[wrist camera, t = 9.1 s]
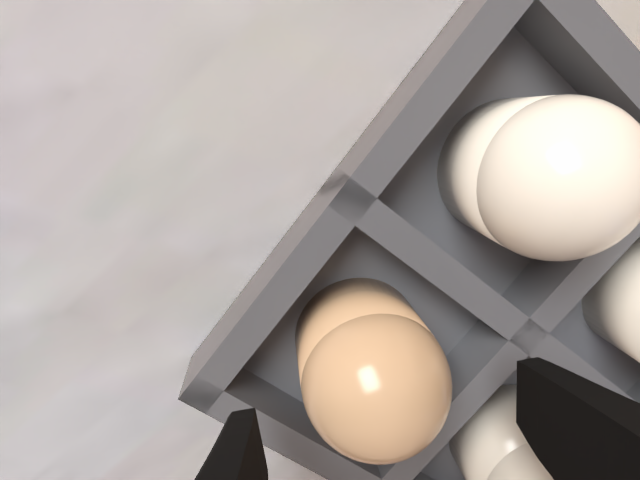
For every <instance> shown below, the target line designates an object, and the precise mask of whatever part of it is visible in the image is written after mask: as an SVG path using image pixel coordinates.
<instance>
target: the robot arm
mask: <svg viewBox="0 0 640 480" xmlns="http://www.w3.org/2000/svg"><path fill="white" fill-rule="evenodd" d="M516 423H517V425H518V427H519V428H520V430H521V432H522V434H523V435H524V437H525V439H526V440H527V442H528V444H529V445H530V447H531V449H532V450H533V452H534V453H535V455H536V457H537V458H538V459H539V461H540V462H541V463H542V465H543V466H544V467H545V469H546V470H547V471H548V473H549V474H550V475H551V477H552V478H553V479H554V480H640V403H638V402H636V401H634V400H632V399H629V398H627V397H625V396H623V395H620V394H618V393H616V392H614V391H612V390H609V389H607V388H605V387H603V386H601V385H599V384H597V383H594V382H592V381H590V380H588V379H586V378H584V377H582V376H580V375H577V374H575V373H573V372H571V371H569V370H567V369H565V368H562V367H560V366H558V365H556V364H554V363H551V362H549V361H547V360H544V359H542V358H539V357H535V358H530V359H524V360H519V361H517V392H516ZM195 480H268V469H267V464H266V459H265V454H264V449H263V444H262V439H261V434H260V429H259V424H258V419H257V414H256V409H255V408H249V409H244V410H238V411H233V412H231V414H230V415H229V416H228V418H227V420H226V422H225V425H224V427H223V429H222V431H221V433H220V435H219V437H218V439H217V441H216V442H215V444H214V446H213V448H212V450H211V452H210V454H209V455H208V457H207V459H206V461H205V462H204V464H203V466H202V468H201V469H200V471H199V473H198V475H197V476H196V478H195Z"/></svg>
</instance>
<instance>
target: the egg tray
mask: <svg viewBox="0 0 640 480" xmlns="http://www.w3.org/2000/svg"><path fill="white" fill-rule="evenodd" d="M564 94H574V95H586V96H590V97H594V98H598V99H602V100H605V101H607V102H610V103H612V104H614V105H616V106H618V107H620V108H621V109H623V110H624V111H626V112H627V113H628V114H630V115H631V116H632V117H633V118H634V119H635V120H636V121H637V122H638V123H639V124H640V51H639V50H638V49H637V48H636V46H635V45H634V44H633V43H632V42H631V41H630V40H629V38H628V37H627V36H626V35H625V34H624V33H623V32H622V30H621V29H620V28H619V27H618V26H617V25H616V23H615V22H614V21H613V20H612V19H611V18H610V17H609V15H608V14H607V13H606V12H605V11H604V10H603V9H602V7H601V6H600V5H599V4H598V3H597V2H596V1H595V0H465V1H464V2H463V3H462V4H461V6H460V7H459V8H458V10H457V11H456V12H455V14H454V15H453V16H452V18H451V19H450V20H449V21H448V23H447V24H446V25H445V27H444V28H443V29H442V31H441V32H440V33H439V35H438V36H437V37H436V38H435V40H434V41H433V42H432V44H431V45H430V46H429V48H428V49H427V50H426V51H425V53H424V54H423V55H422V57H421V58H420V59H419V61H418V62H417V63H416V65H415V66H414V67H413V68H412V70H411V71H410V72H409V74H408V75H407V76H406V78H405V79H404V80H403V82H402V83H401V84H400V85H399V87H398V88H397V89H396V91H395V92H394V93H393V95H392V96H391V97H390V99H389V100H388V101H387V102H386V104H385V105H384V106H383V108H382V109H381V110H380V112H379V113H378V114H377V115H376V117H375V118H374V119H373V121H372V122H371V123H370V125H369V126H368V127H367V129H366V130H365V131H364V132H363V134H362V135H361V136H360V138H359V139H358V140H357V142H356V143H355V144H354V146H353V147H352V148H351V149H350V151H349V152H348V153H347V155H346V156H345V157H344V159H343V160H342V161H341V163H340V164H339V165H338V166H337V168H336V169H335V170H334V172H333V173H332V174H331V176H330V177H329V178H328V179H327V181H326V182H325V183H324V185H323V186H322V187H321V189H320V190H319V191H318V193H317V194H316V195H315V196H314V198H313V199H312V200H311V202H310V203H309V204H308V206H307V207H306V208H305V210H304V211H303V212H302V213H301V215H300V216H299V217H298V219H297V220H296V221H295V223H294V224H293V225H292V227H291V228H290V229H289V230H288V232H287V233H286V234H285V236H284V237H283V238H282V240H281V241H280V242H279V243H278V245H277V246H276V247H275V249H274V250H273V251H272V253H271V254H270V255H269V257H268V258H267V259H266V260H265V262H264V263H263V264H262V266H261V267H260V268H259V270H258V271H257V272H256V274H255V275H254V276H253V277H252V279H251V280H250V281H249V283H248V284H247V285H246V287H245V288H244V289H243V291H242V292H241V293H240V294H239V296H238V297H237V298H236V300H235V301H234V302H233V304H232V305H231V306H230V308H229V309H228V310H227V311H226V313H225V314H224V315H223V317H222V318H221V319H220V321H219V322H218V323H217V324H216V326H215V327H214V328H213V330H212V331H211V332H210V334H209V335H208V336H207V338H206V339H205V340H204V341H203V343H202V344H201V345H200V347H199V348H198V349H197V351H196V352H195V353H194V355H193V356H192V357H191V360H190V363H189V366H188V370H187V373H186V376H185V379H184V382H183V385H182V388H181V391H180V395H179V398H178V399H179V400H181V401H182V402H184V403H186V404H188V405H190V406H192V407H194V408H196V409H197V410H199V411H201V412H203V413H205V414H207V415H209V416H210V417H212V418H214V419H216V420H218V421H220V422H222V423H224V424H225V422H226V420H227V418H228V416H229V415H230V414H231V412H233V411H238V410H244V409H249V408H255V409H256V414H257V419H258V424H259V429H260V434H261V439H262V444H263V445H265V446H266V447H268V448H270V449H272V450H274V451H276V452H278V453H280V454H281V455H283V456H285V457H287V458H289V459H291V460H293V461H294V462H296V463H298V464H300V465H302V466H304V467H306V468H308V469H309V470H311V471H313V472H315V473H317V474H319V475H321V476H322V477H324V478H326V479H328V480H465V478H464V476H463V475H462V473H461V471H460V469H459V467H458V465H457V463H456V462H455V460H454V458H453V456H452V454H451V451H450V448H449V440H450V439H451V438H452V437H453V436H454V435H455V434H456V433H457V432H458V431H459V430H460V429H461V428H462V427H463V425H464V424H465V423H466V422H467V421H468V420H469V419H470V418H471V417H472V416H473V415H474V414H475V413H476V412H477V410H478V409H479V408H480V407H481V406H482V405H483V404H484V403H485V402H486V401H487V400H488V399H489V398H490V396H491V395H492V394H493V393H494V392H495V391H496V390H497V389H498V388H499V387H500V386H501V385H517V361H519V360H524V359H530V358H535V357H539V358H542V359H544V360H547V361H549V362H551V363H554V364H556V365H558V366H560V367H562V368H565V369H567V370H569V371H571V372H573V373H575V374H577V375H580V376H582V377H584V378H586V379H588V380H590V381H592V382H594V383H597V384H599V385H601V386H603V387H605V388H607V389H609V390H612V391H614V392H616V393H618V394H620V395H623V396H625V397H627V398H629V399H632V400H634V401H636V402H638V403H640V363H639V362H638V361H636V360H635V359H633V358H632V357H630V356H629V355H627V354H626V353H624V352H623V351H621V350H620V349H618V348H617V347H615V346H614V345H612V344H611V343H609V342H608V341H606V340H605V339H603V338H602V337H600V336H599V335H597V334H596V333H595V332H594V331H593V330H592V329H591V328H590V327H589V326H588V324H587V322H586V320H585V318H584V315H583V312H582V298H583V297H584V296H585V295H586V294H587V292H588V291H589V290H590V289H591V288H592V287H593V286H594V285H595V284H596V283H597V282H598V281H599V280H600V279H601V277H602V276H603V275H604V274H605V273H606V272H607V271H608V270H609V269H610V268H611V267H612V266H613V265H614V264H615V262H616V261H617V260H618V259H619V258H620V257H621V256H622V255H623V254H624V253H625V252H626V251H627V250H628V249H629V247H630V246H631V245H632V244H633V243H634V242H635V241H636V240H637V239H638V238H639V237H640V223H639V224H638V225H637V226H636V227H635V228H634V229H633V230H632V231H631V232H630V233H629V234H628V235H627V236H626V237H625V238H623V239H622V240H621V241H620V242H618V243H617V244H615V245H613V246H612V247H610V248H608V249H606V250H604V251H602V252H600V253H597V254H595V255H592V256H589V257H586V258H581V259H577V260H571V261H543V260H537V259H532V258H528V257H525V256H522V255H519V254H517V253H515V252H513V251H511V250H509V249H507V248H505V247H503V246H501V245H500V244H498V243H496V242H494V241H493V240H491V239H489V238H487V237H485V236H484V235H482V234H480V233H478V232H477V231H475V230H473V229H471V228H469V227H468V226H466V225H464V224H463V223H461V222H460V221H458V220H457V219H456V218H455V217H454V216H453V215H452V214H451V213H450V212H449V210H448V209H447V208H446V206H445V204H444V202H443V200H442V198H441V195H440V192H439V188H438V182H437V166H438V159H439V156H440V152H441V149H442V147H443V144H444V142H445V140H446V138H447V136H448V134H449V133H450V132H451V130H452V129H453V127H454V126H455V125H456V124H457V123H458V122H459V120H460V119H461V118H463V117H464V116H465V115H466V114H467V113H468V112H470V111H471V110H473V109H474V108H476V107H478V106H480V105H482V104H484V103H487V102H490V101H493V100H498V99H506V98H520V97H535V96H549V95H564ZM350 278H371V279H376V280H379V281H382V282H385V283H387V284H389V285H391V286H392V287H394V288H395V289H396V290H398V291H399V292H400V293H401V294H402V295H403V296H404V297H405V299H406V300H407V301H408V302H409V304H410V305H411V306H412V308H413V309H414V310H415V312H416V313H417V314H418V316H419V317H420V318H421V320H422V321H423V322H424V324H425V325H426V326H427V327H428V329H429V330H430V331H431V333H432V334H433V335H434V337H435V338H436V340H437V341H438V343H439V344H440V346H441V348H442V349H443V351H444V353H445V356H446V358H447V361H448V364H449V367H450V371H451V377H452V401H451V406H450V410H449V413H448V416H447V419H446V422H445V424H444V426H443V428H442V429H441V431H440V432H439V434H438V435H437V436H436V438H435V439H434V440H433V441H432V442H431V444H429V445H428V446H427V447H426V448H425V449H424V450H422V451H421V452H420V453H418V454H417V455H415V456H413V457H411V458H409V459H407V460H404V461H401V462H397V463H393V464H386V465H375V464H367V463H362V462H358V461H355V460H352V459H350V458H348V457H346V456H344V455H342V454H340V453H339V452H337V451H336V450H334V449H333V448H332V447H331V446H330V445H329V444H328V443H326V442H325V441H324V440H323V439H322V437H321V436H320V435H319V434H318V432H317V431H316V430H315V428H314V426H313V425H312V423H311V421H310V419H309V417H308V415H307V412H306V410H305V407H304V402H303V398H302V393H301V385H300V377H299V369H298V362H297V354H296V346H295V330H296V325H297V322H298V319H299V316H300V314H301V312H302V310H303V309H304V307H305V306H306V304H307V303H308V302H309V301H310V300H311V299H312V297H313V296H314V295H316V294H317V293H318V292H319V291H321V290H322V289H324V288H325V287H327V286H329V285H331V284H333V283H335V282H338V281H341V280H345V279H350Z"/></svg>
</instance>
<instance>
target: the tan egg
mask: <svg viewBox="0 0 640 480" xmlns="http://www.w3.org/2000/svg"><path fill="white" fill-rule="evenodd" d="M295 346H296V354H297V362H298V369H299V377H300V385H301V393H302V398H303V402H304V407H305V410H306V412H307V415H308V417H309V419H310V421H311V423H312V425H313V426H314V428H315V430H316V431H317V432H318V434H319V435H320V436H321V437H322V439H323V440H324V441H325V442H326V443H328V444H329V445H330V446H331V447H332V448H333V449H334V450H336V451H337V452H339V453H340V454H342V455H344V456H346V457H348V458H350V459H352V460H355V461H358V462H362V463H367V464H375V465H386V464H393V463H397V462H401V461H404V460H407V459H409V458H411V457H413V456H415V455H417V454H418V453H420V452H421V451H422V450H424V449H425V448H426V447H427V446H428V445H429V444H431V442H432V441H433V440H434V439H435V438H436V436H437V435H438V434H439V432H440V431H441V429H442V428H443V426H444V424H445V422H446V419H447V416H448V413H449V410H450V406H451V401H452V377H451V371H450V367H449V364H448V361H447V358H446V356H445V353H444V351H443V349H442V348H441V346H440V344H439V343H438V341H437V340H436V338H435V337H434V335H433V334H432V333H431V331H430V330H429V329H428V327H427V326H426V325H425V324H424V322H423V321H422V320H421V318H420V317H419V316H418V314H417V313H416V312H415V310H414V309H413V308H412V306H411V305H410V304H409V302H408V301H407V300H406V299H405V297H404V296H403V295H402V294H401V293H400V292H399V291H398V290H396V289H395V288H394V287H392V286H391V285H389V284H387V283H385V282H382V281H379V280H376V279H371V278H350V279H345V280H341V281H338V282H335V283H333V284H331V285H329V286H327V287H325V288H324V289H322V290H321V291H319V292H318V293H317V294H316V295H314V296H313V297H312V299H311V300H310V301H309V302H308V303H307V304H306V306H305V307H304V309H303V310H302V312H301V314H300V316H299V319H298V322H297V325H296V330H295Z"/></svg>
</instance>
